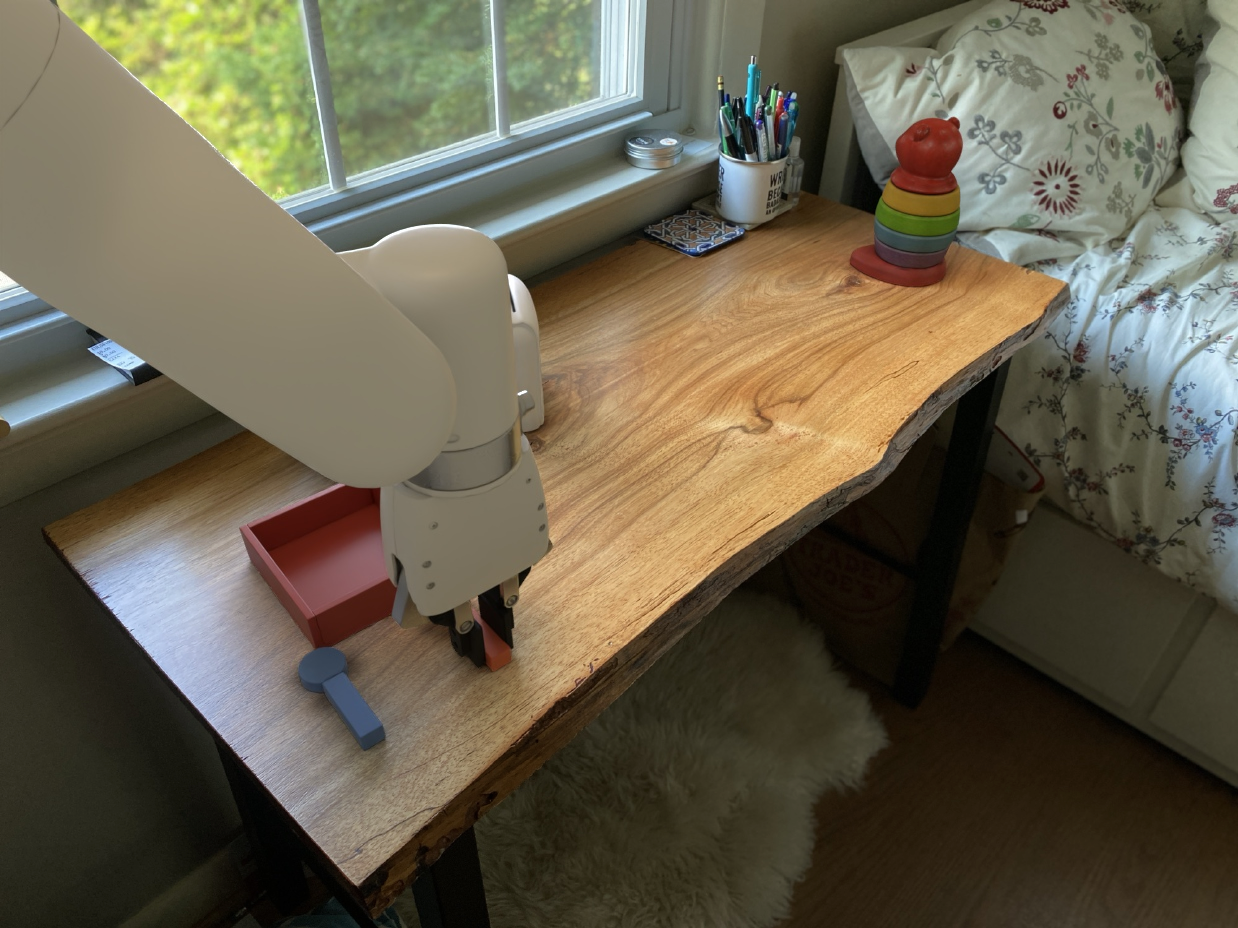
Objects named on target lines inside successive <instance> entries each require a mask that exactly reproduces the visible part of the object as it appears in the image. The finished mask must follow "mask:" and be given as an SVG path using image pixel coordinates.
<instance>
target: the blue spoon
mask: <svg viewBox="0 0 1238 928" xmlns="http://www.w3.org/2000/svg"><path fill="white" fill-rule="evenodd" d="M346 658H347V657H346V655H345V653H344V652H343V651H341V649H338V648H336V647H332V646H330V647H322V648H318V649H313V650H311V651H309V652H308V653H306V654H305V655H304V656H303V657H302V658H301V660H300V662H299V664H298V666H297V674H298V677H299V679H300V683H301V684H302V686H303V688H304V689H306V690H308V691H310V692H312V693H324V696H325V698H326V699H327V701H328V702H329V703H330V705H331V706H332V707H333V709H334V710H335V712H336V713H337V714H338V716H339V717H340V719H341V720H342V723H344V725H345V726H346V728H347V729H348V730H349V732H350V733H351V735H352V736H353V738H354V739H355V740H356V742H357V743H358V745H359V746H360V748H361V749H362V750H363V751H366V750H369V749H370V748H372V747H373V746H375V745H377V744H378V743H380V742H382V741H383V740H385V739H386V738H387V737H386V733H385V732H386V731H385V728H384V725H383V723H382V722H381V721H380V719H379V718H378V717H377V715H376V714H375V712H374V711H373V710H372V708H371V707H370V706H369V704H368V703H367V701H366V700H365V699H364V698H363V696H362V694H360V692H359V691H358V690H357V687H356V686H355V685H354V684H353V683H352V681H351V680H350V679H349V677H348V674H349V664H348V661H347V659H346Z"/></svg>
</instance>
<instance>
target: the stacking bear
mask: <svg viewBox="0 0 1238 928" xmlns="http://www.w3.org/2000/svg"><path fill="white" fill-rule="evenodd" d="M960 128H961V122H960V120H959V118H957V117H956V116H950V117H949V118H948V119H943V118H939V117H927V118H923V119H920V120H917V121H915V122H914V123H912V124H911V125H910V126H909V127H908V128H907V129H906V130H905V131H904V132H902V134H901V135H899V136H898V137H897V138H896V140H895V145H894V148H895V149H894V150H895V155H896V158H897V161H898V163H899V166H897V167H896V168H895V169H894V170H893V171H892V172H891V174H890V178H889V179H888V181H887V182H886V184H885V186H884V189H883V191H882V195H881V196H880V198H879V200H878V203H877V205H876V209H875V213H874V214H875V216H874V224H873V231H874V236H873V241H874V243H872V244H867V245H862V246H860V247H857V248H855V249H853V251H852V252H851V255H850V256H849V264H850V265H851V266H852V267H853V268H855V269H856V270H857V271H859V272H861V273H863V274H865V275H867V276H869V277H871V278H874V279H877V280H879V281H883V282H885V283H889V284H893V285H898V286H904V287H924V286H929V285H933V284H935V283H938V282H939V281H941V280H942V279H943V278H944V277H945V275H946V272H947V263H946V258H945V257H946V255H947V253H948V251H949V249H950V247H951V245H952V243H953V241H954V239H955V237H956V234H957V231H958V228H959V223H960V218H961V217H960V216H961V187H960V185H959V184H958V180H957V177H956V176H955V174H954V173H953V170H954V169H955V167H956V166H957V164H958V162H959V161H960V158H961V156H962V152H963V150H964V149H963V148H964V141H963V136H962V132H960Z"/></svg>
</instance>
